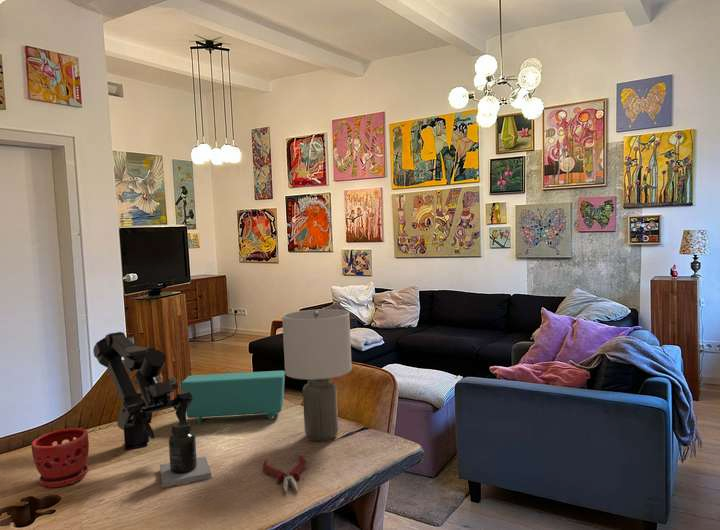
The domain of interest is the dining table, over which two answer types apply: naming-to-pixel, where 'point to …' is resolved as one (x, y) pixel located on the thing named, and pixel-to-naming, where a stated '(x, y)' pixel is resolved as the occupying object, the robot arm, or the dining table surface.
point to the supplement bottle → (182, 448)
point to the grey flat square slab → (197, 474)
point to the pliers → (283, 477)
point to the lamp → (318, 364)
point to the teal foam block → (235, 394)
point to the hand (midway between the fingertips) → (169, 433)
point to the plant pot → (61, 456)
